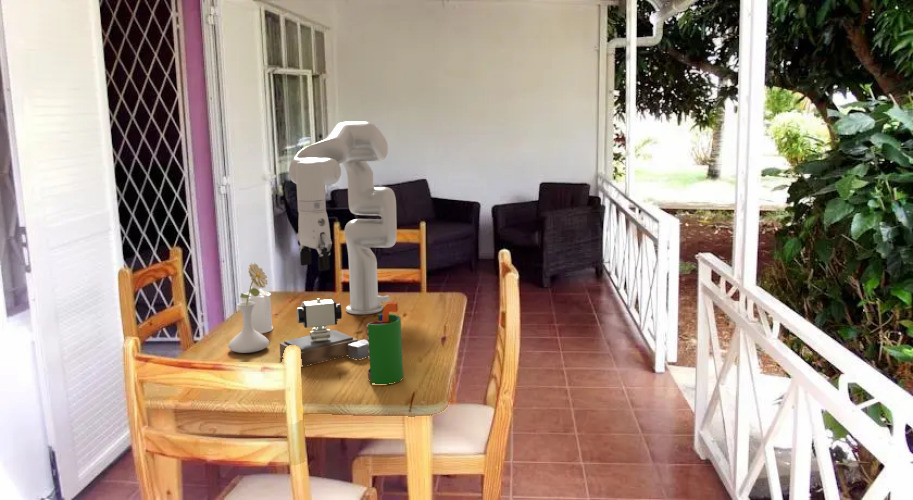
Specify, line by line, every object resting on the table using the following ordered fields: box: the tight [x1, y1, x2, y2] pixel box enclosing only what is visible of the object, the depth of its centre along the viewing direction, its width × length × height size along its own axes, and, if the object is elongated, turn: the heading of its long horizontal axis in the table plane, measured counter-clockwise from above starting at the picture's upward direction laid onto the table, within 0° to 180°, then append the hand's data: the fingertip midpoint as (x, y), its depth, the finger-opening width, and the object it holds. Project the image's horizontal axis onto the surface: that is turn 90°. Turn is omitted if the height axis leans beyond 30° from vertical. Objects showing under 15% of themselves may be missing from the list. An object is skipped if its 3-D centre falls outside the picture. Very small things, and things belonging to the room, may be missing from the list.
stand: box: [279, 329, 359, 368], centre depth 205 cm, size 18×12×5 cm, turn 130°
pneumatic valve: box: [296, 297, 343, 342], centre depth 203 cm, size 6×12×12 cm, turn 109°
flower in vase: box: [227, 262, 270, 354], centre depth 209 cm, size 13×11×25 cm
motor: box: [366, 301, 404, 384], centre depth 185 cm, size 10×9×20 cm
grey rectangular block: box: [347, 339, 369, 361], centre depth 203 cm, size 6×4×4 cm, turn 140°
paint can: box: [239, 281, 274, 335], centre depth 228 cm, size 10×9×20 cm
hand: (315, 267), depth 203 cm, fingers open, 9 cm apart
